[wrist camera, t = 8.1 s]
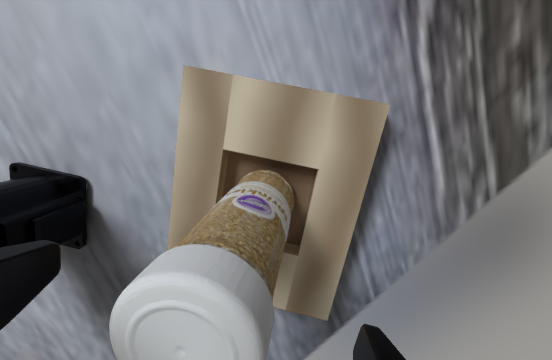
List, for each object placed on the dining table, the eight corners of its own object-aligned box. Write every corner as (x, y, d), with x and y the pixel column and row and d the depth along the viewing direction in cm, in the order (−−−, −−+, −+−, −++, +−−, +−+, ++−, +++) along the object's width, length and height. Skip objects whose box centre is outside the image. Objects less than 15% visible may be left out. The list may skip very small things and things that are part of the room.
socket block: (176, 266, 23) (164, 280, 21) (196, 69, 19) (183, 65, 17) (325, 302, 22) (327, 320, 20) (381, 105, 18) (390, 104, 16)
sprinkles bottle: (297, 171, 19) (271, 294, 6) (291, 229, 20) (259, 433, 7) (235, 165, 20) (92, 266, 7) (233, 222, 21) (107, 402, 8)
